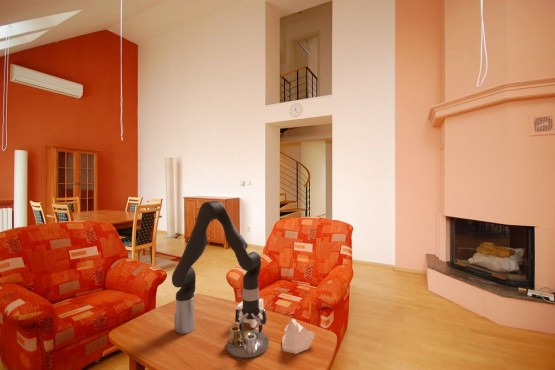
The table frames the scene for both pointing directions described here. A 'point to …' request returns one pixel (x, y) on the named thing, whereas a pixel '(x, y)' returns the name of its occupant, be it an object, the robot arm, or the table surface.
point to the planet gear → (251, 344)
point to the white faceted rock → (296, 338)
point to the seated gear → (235, 336)
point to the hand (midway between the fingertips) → (250, 331)
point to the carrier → (239, 349)
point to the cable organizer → (253, 322)
